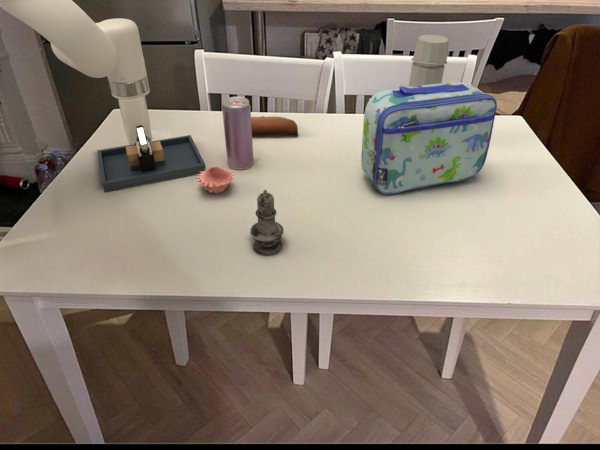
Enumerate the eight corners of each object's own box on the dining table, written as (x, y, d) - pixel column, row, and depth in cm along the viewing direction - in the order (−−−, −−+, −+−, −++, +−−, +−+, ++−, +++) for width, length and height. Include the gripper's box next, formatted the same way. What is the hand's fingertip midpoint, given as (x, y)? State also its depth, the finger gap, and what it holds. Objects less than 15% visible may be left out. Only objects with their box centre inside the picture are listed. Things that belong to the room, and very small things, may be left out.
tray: (104, 192, 97) (101, 183, 95) (99, 158, 108) (97, 150, 107) (206, 172, 103) (205, 164, 102) (191, 142, 115) (190, 134, 113)
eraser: (131, 171, 102) (127, 155, 100) (129, 162, 105) (125, 146, 103) (165, 164, 105) (162, 149, 102) (162, 156, 108) (159, 140, 105)
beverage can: (250, 171, 104) (246, 108, 95) (224, 169, 104) (217, 106, 95) (256, 158, 108) (252, 97, 99) (231, 156, 109) (226, 95, 100)
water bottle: (429, 151, 112) (450, 45, 97) (396, 146, 114) (412, 41, 99) (432, 135, 119) (453, 33, 104) (401, 131, 121) (417, 30, 106)
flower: (243, 189, 98) (241, 166, 94) (215, 206, 93) (212, 182, 90) (217, 177, 102) (215, 154, 98) (189, 192, 97) (185, 169, 93)
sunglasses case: (296, 121, 124) (296, 106, 118) (297, 143, 121) (298, 129, 115) (228, 122, 123) (225, 107, 117) (228, 145, 120) (225, 131, 114)
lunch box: (370, 201, 95) (382, 103, 82) (353, 174, 103) (361, 82, 90) (484, 185, 100) (511, 91, 87) (458, 161, 108) (481, 72, 96)
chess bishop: (290, 242, 84) (289, 186, 77) (272, 260, 80) (270, 203, 73) (263, 232, 86) (260, 176, 79) (244, 249, 82) (239, 193, 75)
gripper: (106, 74, 99) (124, 147, 110) (113, 104, 86) (133, 183, 97) (142, 69, 102) (157, 142, 112) (154, 98, 89) (169, 176, 99)
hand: (145, 161), depth 105 cm, fingers open, 8 cm apart
